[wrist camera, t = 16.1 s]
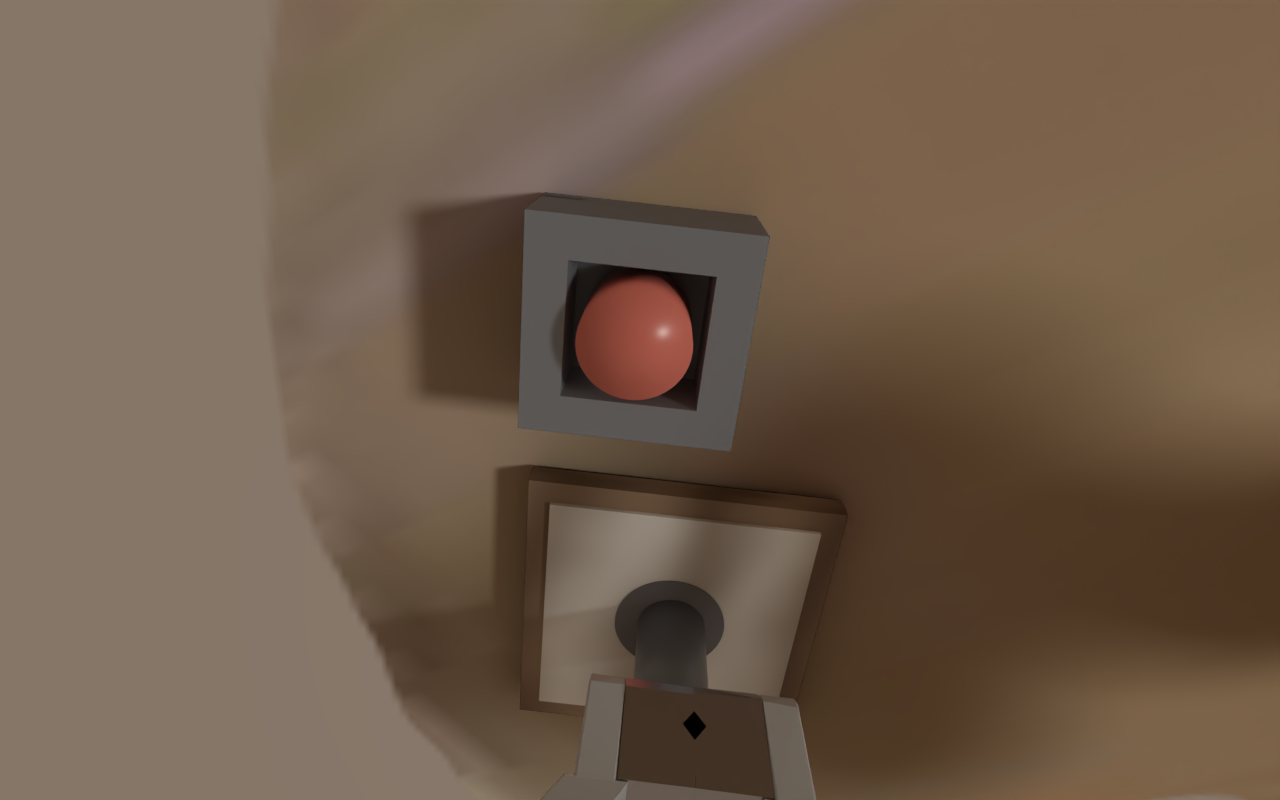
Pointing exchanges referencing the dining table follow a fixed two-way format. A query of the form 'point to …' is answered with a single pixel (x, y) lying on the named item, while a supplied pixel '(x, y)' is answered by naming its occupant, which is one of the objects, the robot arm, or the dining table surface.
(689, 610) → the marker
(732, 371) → the button housing
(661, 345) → the button
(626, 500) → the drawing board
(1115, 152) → the dining table surface
